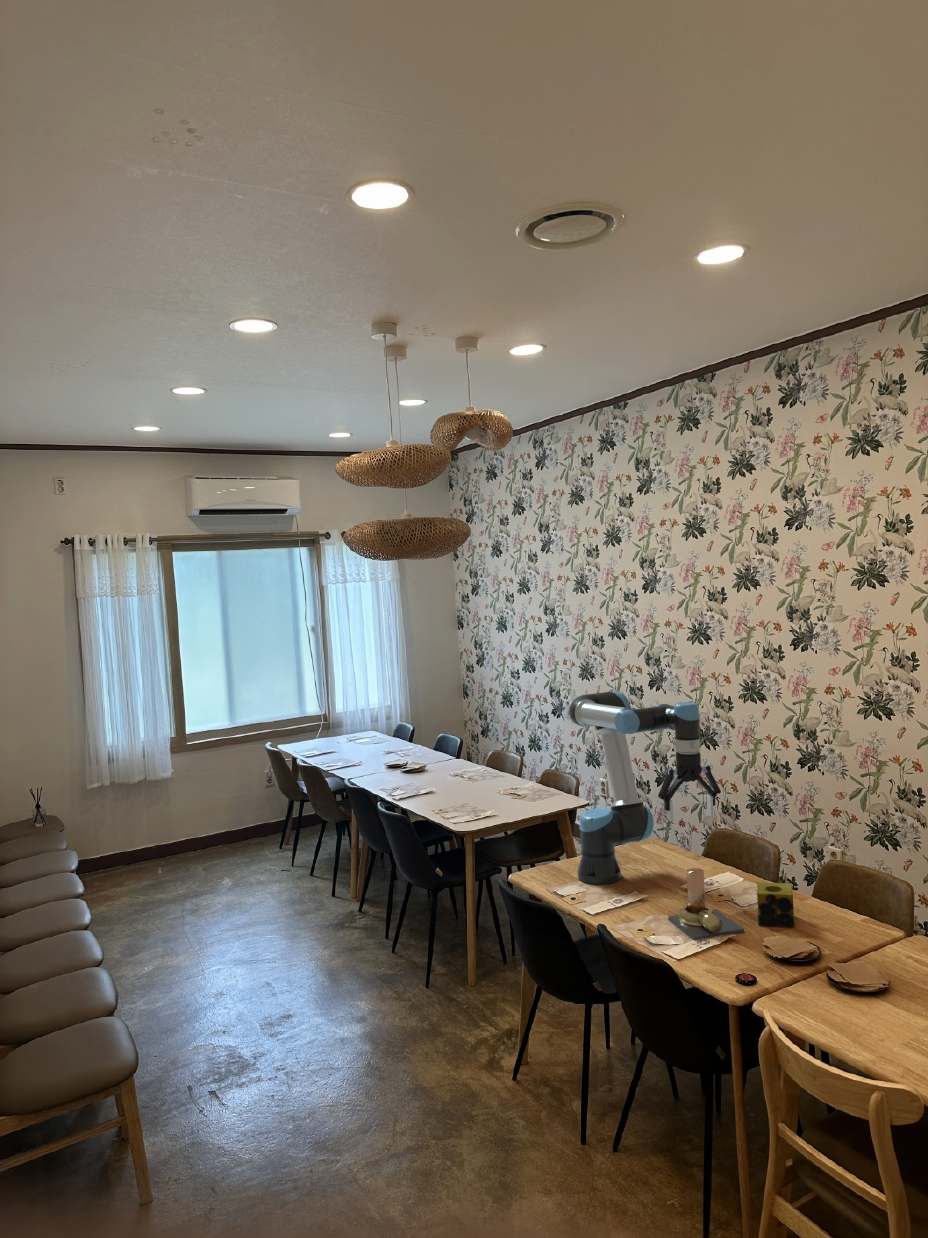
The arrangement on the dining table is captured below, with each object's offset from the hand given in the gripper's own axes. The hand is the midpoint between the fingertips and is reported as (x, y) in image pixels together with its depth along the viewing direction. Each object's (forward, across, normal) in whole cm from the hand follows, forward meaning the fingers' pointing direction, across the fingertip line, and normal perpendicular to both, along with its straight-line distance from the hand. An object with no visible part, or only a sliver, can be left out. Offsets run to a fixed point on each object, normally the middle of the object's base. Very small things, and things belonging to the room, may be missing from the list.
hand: (690, 818), depth 267 cm
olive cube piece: (+27, +16, -21) cm, 38 cm away
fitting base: (+27, -5, -17) cm, 32 cm away
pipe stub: (+26, -6, -14) cm, 30 cm away
